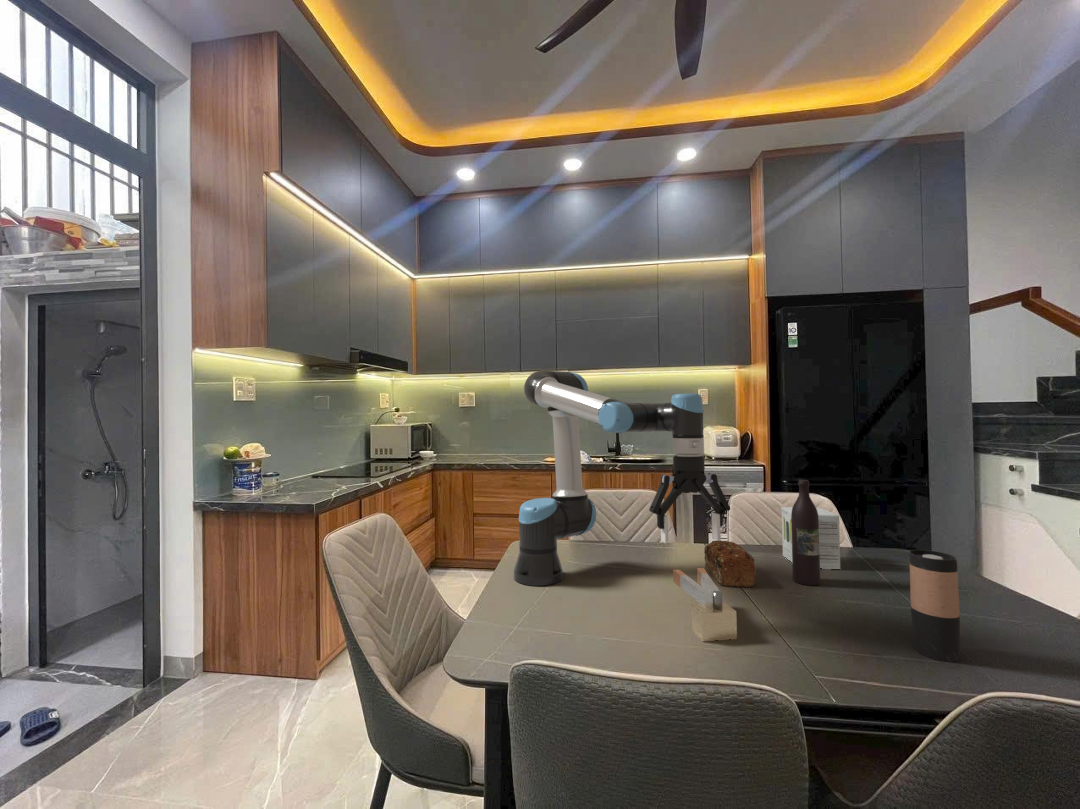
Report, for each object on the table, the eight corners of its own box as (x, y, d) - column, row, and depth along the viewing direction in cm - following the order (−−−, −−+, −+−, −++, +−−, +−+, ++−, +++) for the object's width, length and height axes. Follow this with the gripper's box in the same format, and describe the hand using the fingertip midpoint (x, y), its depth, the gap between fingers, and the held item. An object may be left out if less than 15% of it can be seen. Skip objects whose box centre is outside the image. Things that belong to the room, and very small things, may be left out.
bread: (757, 588, 130) (756, 553, 130) (718, 587, 131) (717, 552, 131) (737, 567, 148) (736, 536, 148) (703, 566, 149) (702, 536, 150)
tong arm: (696, 580, 119) (696, 567, 119) (704, 580, 119) (704, 567, 119) (714, 608, 101) (713, 593, 101) (723, 608, 101) (723, 594, 101)
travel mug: (902, 644, 97) (899, 550, 97) (935, 643, 97) (932, 548, 98) (936, 663, 89) (932, 561, 90) (972, 661, 90) (968, 559, 90)
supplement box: (781, 556, 159) (780, 506, 160) (821, 557, 158) (820, 507, 158) (797, 568, 146) (796, 514, 147) (841, 570, 145) (840, 515, 145)
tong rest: (665, 605, 118) (665, 570, 118) (694, 603, 119) (694, 568, 119) (702, 641, 99) (701, 599, 99) (736, 639, 100) (736, 597, 100)
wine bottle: (794, 584, 132) (791, 481, 133) (791, 576, 139) (788, 478, 140) (822, 587, 130) (819, 482, 131) (817, 579, 136) (815, 479, 137)
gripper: (646, 457, 108) (648, 547, 108) (743, 455, 112) (746, 542, 111) (635, 455, 116) (637, 539, 115) (726, 453, 119) (729, 534, 118)
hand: (690, 540), depth 113 cm, fingers open, 13 cm apart
